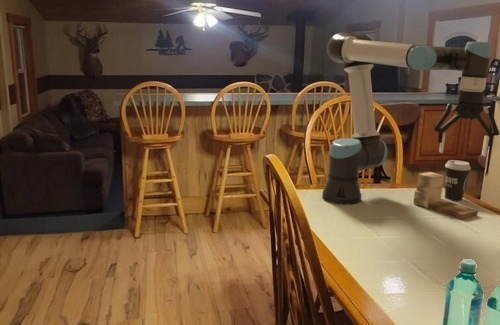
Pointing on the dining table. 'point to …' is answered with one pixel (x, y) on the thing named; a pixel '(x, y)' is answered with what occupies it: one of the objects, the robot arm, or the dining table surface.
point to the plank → (453, 209)
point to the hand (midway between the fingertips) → (462, 153)
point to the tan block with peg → (428, 188)
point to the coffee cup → (456, 179)
